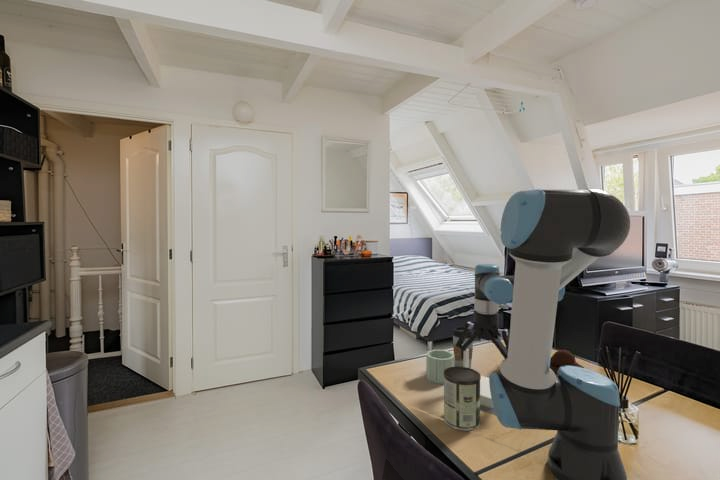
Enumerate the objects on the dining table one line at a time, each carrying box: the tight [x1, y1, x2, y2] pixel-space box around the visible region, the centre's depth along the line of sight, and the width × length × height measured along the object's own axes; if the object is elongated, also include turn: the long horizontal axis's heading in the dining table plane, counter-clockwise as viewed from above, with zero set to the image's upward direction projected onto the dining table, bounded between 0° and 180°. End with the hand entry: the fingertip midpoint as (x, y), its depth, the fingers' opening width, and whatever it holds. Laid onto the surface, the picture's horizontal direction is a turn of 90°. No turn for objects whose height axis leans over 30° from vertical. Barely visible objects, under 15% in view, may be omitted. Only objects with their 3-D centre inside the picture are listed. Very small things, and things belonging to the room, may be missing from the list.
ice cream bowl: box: [550, 349, 585, 375], centre depth 119 cm, size 11×11×15 cm
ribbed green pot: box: [425, 349, 455, 385], centre depth 131 cm, size 10×10×9 cm
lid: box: [480, 375, 493, 408], centre depth 117 cm, size 14×10×3 cm
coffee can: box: [443, 366, 482, 432], centre depth 102 cm, size 10×10×14 cm
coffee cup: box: [452, 326, 475, 368], centre depth 141 cm, size 8×8×15 cm
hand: (485, 374), depth 117 cm, fingers open, 13 cm apart
